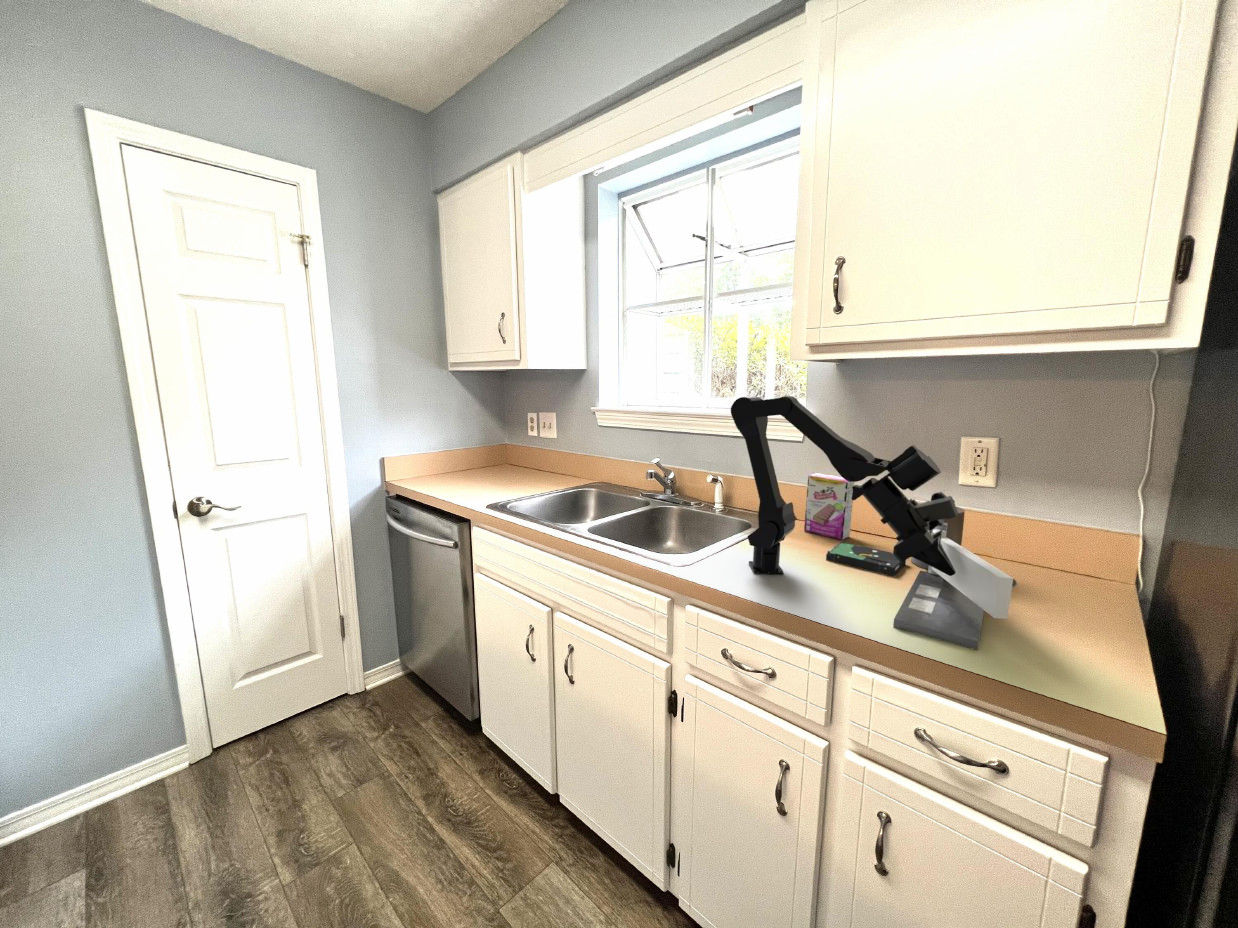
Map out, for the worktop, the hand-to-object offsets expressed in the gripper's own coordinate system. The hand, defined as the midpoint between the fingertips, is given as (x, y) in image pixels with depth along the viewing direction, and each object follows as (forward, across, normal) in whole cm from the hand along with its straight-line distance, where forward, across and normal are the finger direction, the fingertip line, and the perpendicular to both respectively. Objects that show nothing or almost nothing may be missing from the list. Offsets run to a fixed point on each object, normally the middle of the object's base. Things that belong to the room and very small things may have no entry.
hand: (953, 574), depth 91 cm
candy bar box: (-17, +36, +28) cm, 49 cm away
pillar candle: (+2, +28, +10) cm, 29 cm away
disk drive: (-7, +19, +19) cm, 28 cm away
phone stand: (+5, +2, +6) cm, 8 cm away
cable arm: (+5, +4, +2) cm, 7 cm away
